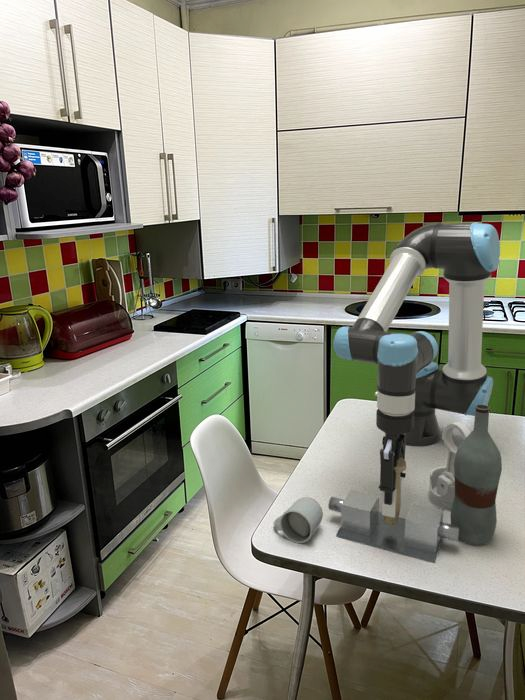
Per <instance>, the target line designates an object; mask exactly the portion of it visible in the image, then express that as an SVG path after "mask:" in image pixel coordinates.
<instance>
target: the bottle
mask: <svg viewBox="0 0 525 700" xmlns="http://www.w3.org/2000/svg"><path fill="white" fill-rule="evenodd" d="M475 408H476V411H475V416H474V422H473V430H472V431H470V432H471V433H470V434H469V435H468V436H467V437H466V438H465V440H462V442H461V443H460V444H459V445H458V447H457V448H458V450H457V452H456V456H455V461H454V473H455V497H454V501H453V504H452V509H451V511H450V514H449V516H450V518H449V519H450V524H451V525H455V526H460V533H459V539H458V541H460V542H461V543H464V544H466V545H469V546H470V545H471V546H475V547H476V546H479V547H480V546H485V545H488V544H489V543H490V542H491V541H492V540H493V538H494V535H495V532H496V528H497V522H498V521H497V519H498V518H497V505H496V499H497V494H498V489H499V484H500V481H501V477H502V475H501V474H502V470H503V467H502V466H503V463H502V455H501V451H500V450H499V448H498V446H497V445H496V443H495V441H494V439H493V438H492V436H491V434H490V432H489V419H490V410H491V408H490V406H489V405H488V404H487V405H483V404H479V405H476V406H475Z"/></svg>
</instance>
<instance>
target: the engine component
mask: <svg viewBox="0 0 525 700" xmlns="http://www.w3.org/2000/svg"><path fill="white" fill-rule="evenodd" d="M454 430H456V431H458V432H459V433H460V435H461V436H462V439H463V440H462V441H464V440H465V438H466V437H467V436H468V435H469V434H470V433H471V432H472V431H471V430H470V429H469V427H467V426H466V425H465V424H464V423H462V422H459V421H455V422H451V423H447V425H444V426H443V427H442V433H441V434H442V435H441V440H442V441H443V443H444V446H445V448H446V449H447V450H446V451H448V453H447V460H446V465H442V466H438V467H435V468H433V469H432V470H430V473H429V487H428V488H429V489H428V500H429V502H430V503H431V504H432V505H433V506H435V508H437V509H441V510H443V511H449V512H451V509H452V504H453V501H454V497H455V473H454V461H455V456H456V452H457V450H458V447H457V446H456V445H455V443H454V440H453V431H454Z"/></svg>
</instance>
